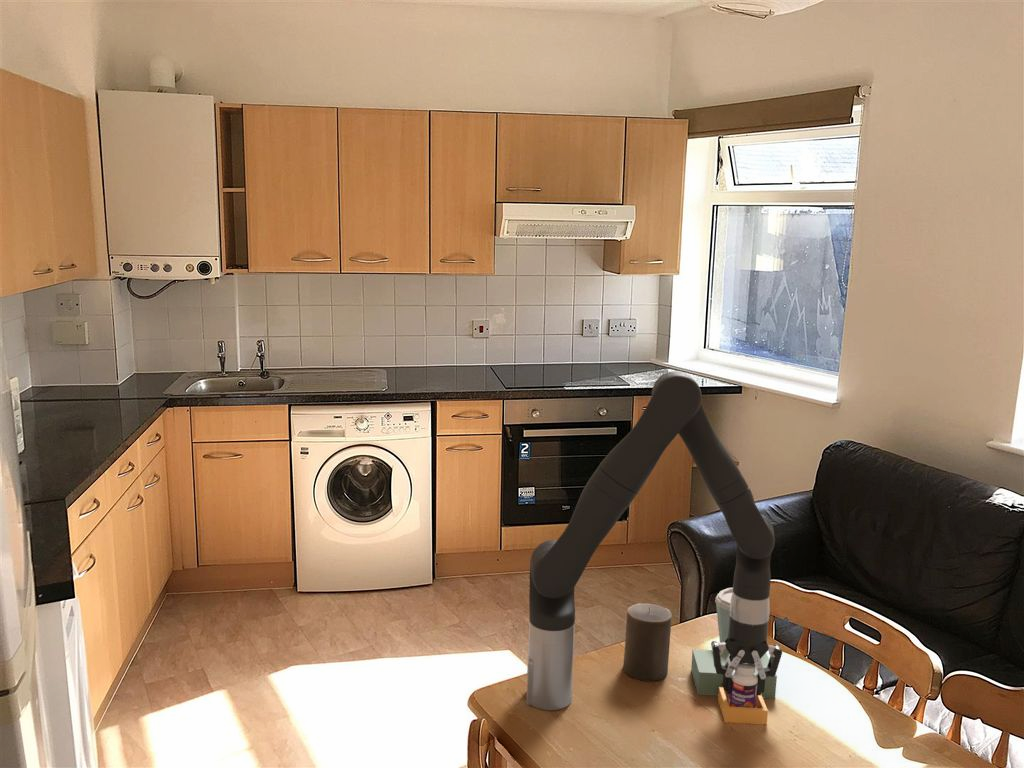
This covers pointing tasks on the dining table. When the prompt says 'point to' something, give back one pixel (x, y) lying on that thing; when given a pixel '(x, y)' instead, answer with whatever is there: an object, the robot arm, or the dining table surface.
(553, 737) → the dining table surface
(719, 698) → the green slab
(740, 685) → the pill bottle
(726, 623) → the disposable coffee cup
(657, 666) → the pillar candle
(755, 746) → the dining table surface
